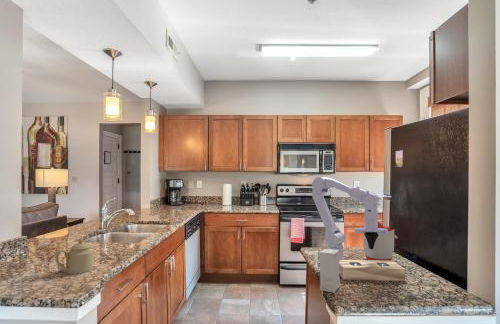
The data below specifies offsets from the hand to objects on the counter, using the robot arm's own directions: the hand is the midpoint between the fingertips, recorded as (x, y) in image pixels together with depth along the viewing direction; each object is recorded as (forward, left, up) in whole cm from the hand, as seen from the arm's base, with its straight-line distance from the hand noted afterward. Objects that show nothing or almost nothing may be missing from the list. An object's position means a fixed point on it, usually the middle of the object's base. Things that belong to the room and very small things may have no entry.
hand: (371, 248), depth 147 cm
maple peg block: (+6, -3, -10) cm, 12 cm away
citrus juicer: (-18, +11, -11) cm, 24 cm away
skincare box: (+22, -24, -11) cm, 34 cm away
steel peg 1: (+6, -9, -10) cm, 15 cm away
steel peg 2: (+6, +3, -10) cm, 12 cm away
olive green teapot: (+6, -135, -11) cm, 136 cm away
